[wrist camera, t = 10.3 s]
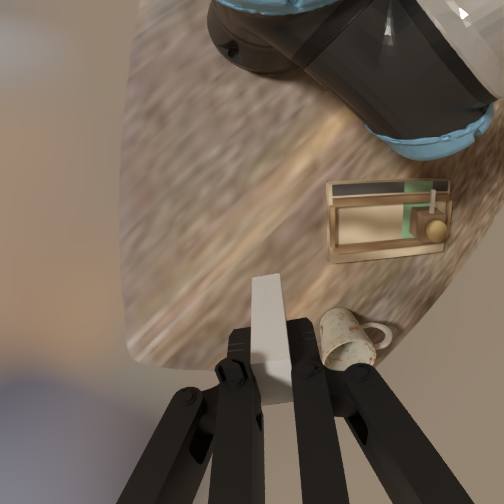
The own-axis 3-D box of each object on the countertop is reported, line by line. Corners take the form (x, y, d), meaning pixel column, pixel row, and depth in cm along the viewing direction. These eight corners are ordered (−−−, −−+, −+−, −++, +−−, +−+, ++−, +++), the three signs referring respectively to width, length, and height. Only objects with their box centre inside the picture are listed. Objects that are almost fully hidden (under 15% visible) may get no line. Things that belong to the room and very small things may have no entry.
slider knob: (412, 184, 41) (430, 194, 36) (434, 184, 41) (453, 194, 36) (409, 232, 44) (425, 247, 39) (430, 230, 44) (448, 244, 39)
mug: (311, 306, 51) (322, 346, 42) (383, 292, 50) (404, 328, 41) (314, 343, 55) (324, 384, 46) (380, 330, 54) (398, 367, 45)
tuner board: (325, 181, 43) (330, 185, 41) (445, 177, 42) (453, 181, 40) (327, 259, 48) (330, 267, 46) (438, 247, 47) (445, 254, 45)
